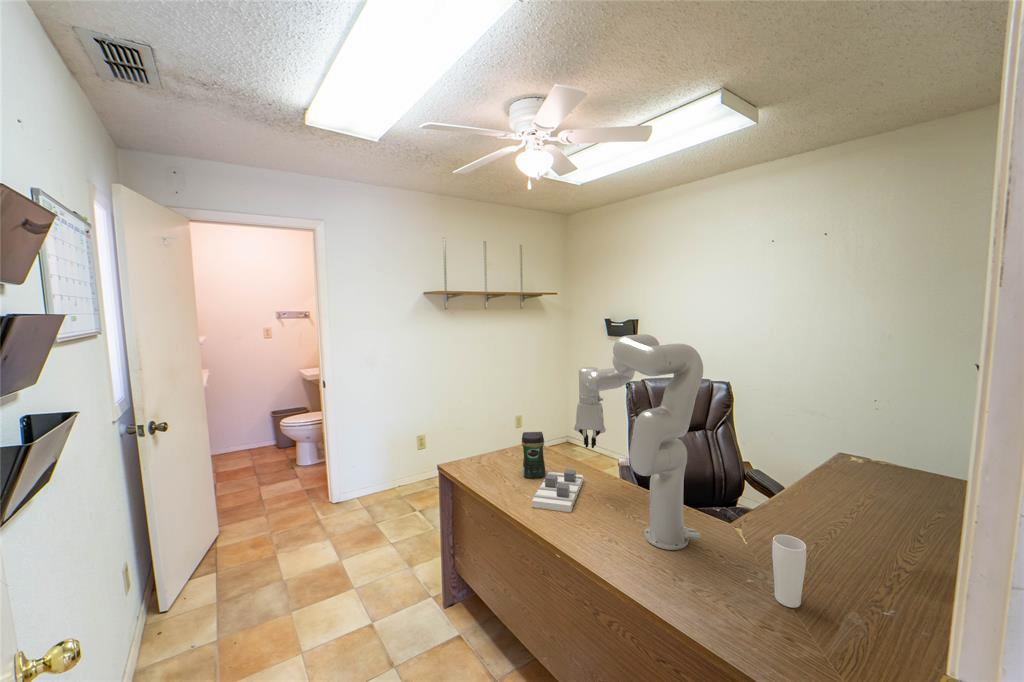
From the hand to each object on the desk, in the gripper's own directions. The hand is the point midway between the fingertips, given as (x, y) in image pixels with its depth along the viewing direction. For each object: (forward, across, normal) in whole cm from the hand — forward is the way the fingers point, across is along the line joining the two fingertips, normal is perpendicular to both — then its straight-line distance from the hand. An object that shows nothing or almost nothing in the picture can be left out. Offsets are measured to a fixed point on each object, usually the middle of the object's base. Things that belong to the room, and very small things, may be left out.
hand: (590, 446), depth 162 cm
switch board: (+17, +11, +6) cm, 21 cm away
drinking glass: (+17, -54, +48) cm, 74 cm away
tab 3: (+14, +8, 0) cm, 16 cm away
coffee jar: (+17, +25, -8) cm, 31 cm away
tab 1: (+14, +14, +7) cm, 21 cm away
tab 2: (+14, +8, +13) cm, 21 cm away
